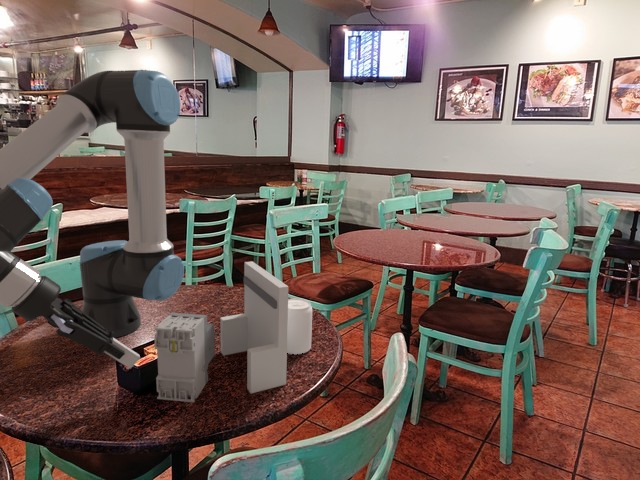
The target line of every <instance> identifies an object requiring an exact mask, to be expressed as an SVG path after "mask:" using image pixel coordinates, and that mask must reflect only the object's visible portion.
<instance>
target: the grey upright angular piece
mask: <svg viewBox="0 0 640 480" xmlns="http://www.w3.org/2000/svg"><path fill="white" fill-rule="evenodd" d="M243 266H244V271H243V273H244V276H243V284H244V290H243V291H244V292H243V293H244V298H243V299H244V302H243V303H244V308H243V309H244V311H243V312H244V313H240V314H233V315H227V316H222V317H220V318H219V319H220V322H219V323H220V325H219V326H220V354H222V356H229V355H235V354H238V353H243V352H247V355H246V359H247V360H246V361H247V362H246V363H247V364H246V365H247V366H246V368H247V370H246V371H247V375H246V376H247V379H246V383H247V384H246V386H247V388H246V389H247V391H248V392H249V393H250V394H255V393H258V392H263V391H266V390H270V389H274V388H277V387H282V386H285V385H287V371H288V370H287V367H288V366H287V365H288V364H287V362H288V361H287V360H288V354H287V328H288V299H289V286H288V285H287V284H285V283H284V282H283V281H281V280H280V279H279V278H277V277H276V276H274V275H273V274H271V273H270V272H268V271H267V270H266V269H264V268H263V267H261V266H260V265H258V264H257V263H256V262H254V261H252V260H251V261H244V265H243Z"/></svg>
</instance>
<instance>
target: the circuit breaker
mask: <svg viewBox="0 0 640 480" xmlns="http://www.w3.org/2000/svg"><path fill="white" fill-rule="evenodd" d="M154 331H156V333H155V335H154V350H157V351H156V353H157V356H156V358H157V373H158V374H157V376H156V377H155V380H156V381H155V382H156V393H158V396H157V397H156V399H157V400H165V401H175V402H176V401H177V402H185V403H195V401H196V399H197V398H198V397H199V395H201V392H202V391H203V389H204V388H205V386H206V384H207V383H208V382H209V372H208V371H207V370H209V364H210V362H211V361H212V360H213V358H214V357H215V356H216V355H215V354H216V353H215V350H216V349H215V335H216V333H215V324H214V323H210V322H208V315H205V314H195V313H183V312H181V313H180V312H170V314H168V315H167V316H166V317H165V318H164V319H163V320H162V321H160V322H159V323H158V324H157V325H156V327H154Z"/></svg>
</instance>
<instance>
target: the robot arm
mask: <svg viewBox="0 0 640 480" xmlns="http://www.w3.org/2000/svg"><path fill="white" fill-rule="evenodd" d="M180 100H181V99H180V95H179V92H178V90H177V88H176V86H175V84H173V82H172V80H171V79H170V78H169V77H168V76H167V75H165V74H164V73H162V72H160V71H158V70H149V69H148V70H147V69H135V70H134V69H133V70H103V71H100V72H96V73H94V74H92V75H89V76H88V77H86V78H84V79H83V80H80V81H79V82H77V83H76V84H74V85H73V86H72V87H70V88H69V89H67V90H66V91H65V92H64V93H62V94H60V96H58V97H57V99H56V101H55V102H56V105H55V106H54V107H52V108H51V109H49V111H47V112H46V113H45V114H43V115H42V116H40V118H39V119H38V118H37V119H36V120H35V122H33V123H32V124H30V125H29V126H28V127H27V128H25V129H24V130H23V131H21V132H20V133H19V134H18V135H16V136H14V138H12V139H11V140H10V141H9V142H7V143H6V144H5V145H4V146H3V147H1V148H0V305H2V306H3V307H4V308H11V311H12V313H14V314H16V315H17V316H19V317H20V318H22V319H23V320H25V321H27V322H33V321H35V320H36V319H38V318H39V317H43V318H44V319H45V320H46V321H47V324H48V325H50V326H51V327H54V328H55V329H56V328H57V329H56V331H55V332H56V334H57V335H58V336H61V337H64V338H67V339H69V340H71V341H73V342H75V343H77V344H79V345H81V346H83V347H85V348H87V349H88V350H91V351H93V352H95V353H97V355H98V356H101V355H102V354H103V353H105V354H106V355H107V356H109V357H111V358H112V359H114V360H116V361H117V362H118V363H120V364H121V365H123V366H124V367H126V368H128V369H130V370H131V369H132V368H133V367H134V366H135V364H137V362H138V361H139V360H140V359H141V356H140V354H139V353H138V352H136V351H134V350H133V349H131V348H129V346H127V345H125V344H124V343H122V341H119V340H117V338H119V337H123V336H127V335H129V334H131V333H133V332H135V331H136V330H138V329H139V328H140V327H141V325H142V322H141V321H142V319H141V318H142V317H141V314H140V311H139V308H138V307H137V304H136V303H135V299H134V298H139V299H143V300H146V301H148V302H149V301H150V302H151V301H154V302H155V301H156V302H164V301H166V300H169V299H170V298H172V297H173V296H174V295H175V294H176V292H177V291H178V290H179V288H180V287H181V285H182V282H183V280H184V275H185V264H184V261H183V260H182V258H181V257H180V256H178V255H177V254H175V253H174V249H175V248H174V244H173V243H172V241H170V240H169V239H168V235H167V233H168V232H167V230H168V229H167V208H166V205H167V203H166V177H165V176H166V173H165V172H166V171H165V148H164V145H165V142H164V141H165V139H166V138H167V137H168V136H169V135H170V134H171V125H173V124H174V123H176V122H177V120H178V119H179V118H178V117H179V116H180V113H181V101H180ZM111 123H112V124H113V123H114V124H115V125H116V128H115V129H116V132H117V133H118V134H119V135H120V136H121V137H122V138H123V139H124V141H123V142H124V156H125V157H124V158H125V159H124V161H125V179H126V180H125V181H126V198H127V199H126V201H127V216H128V238H129V240H128V241H127V240H125V239H123V240H122V239H119V240H118V239H117V240H116V239H115V240H108V241H102V242H96V243H95V242H94V243H91V244H89V245H85V246H83V247H82V248H81V250H80V251H79V252H80V253H79V258H80V259H79V267H80V268H79V269H80V277H81V278H80V279H81V287H82V297H83V304H82V308H79V307H78V306H76V305H75V304H74V302H72V301H71V300H70V299H69V298H65V299H63V300H62V299H61V298H59V295H60V293H61V291H62V287H61V285H60V284H58V283H57V282H55V281H54V280H53V279H51V278H49V277H47V276H46V275H41V272H40V270H39V269H37V268H35V267H34V266H32V265H31V264H29V263H28V262H26V261H24V260H23V259H22V258H20V257H19V256H18V255H15V254H14V253H13V252H12V251H13V250H14V248H16V247H17V246H18V244H19V243H20V242H21V241H22V240H23V239H25V237H27V235H28V234H29V233H30V232H31V231H32V230H33V229H34V228H35V227H36V226H37V225H38V224H39V223H40V222H41V221H43V219H44V217H45V216H46V215H47V213H49V211H50V210H51V209H52V207H53V203H54V202H53V198H52V196H51V194H50V193H49V192H48V190H47V189H46V188H44V186H42V185H41V184H39V183H38V182H36V181H35V180H33V178H34V177H35V176H36V175H37V174H38V173H40V172H41V171H42V170H43V169H44V168H45V167H46V166H47V165H49V163H51V162H52V161H53V160H54V159H56V158H57V157H58V156H59V155H60V154H61V153H63V152H65V150H66V149H67V148H68V147H69V146H71V145H72V144H73V143H74V142H75V141H77V139H79V138H80V137H81V136H82V135H83V134H85V133H87V134H89V133H93V132H94V131H95V130H96V129H98V128H99V127H101V126H103V125H106V124H111Z"/></svg>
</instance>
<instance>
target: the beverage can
mask: <svg viewBox="0 0 640 480" xmlns="http://www.w3.org/2000/svg"><path fill="white" fill-rule="evenodd" d="M312 324H313V307H312V304H311V302H310V301H309V300H307V299H304V298H297V297H296V298H288V328H287V353H288V354H287V355H292V354H294V355H293V356H295V355H297V354H298V355H303V354H306V353H307V352H309V351H310V350H311V348H312V333H313V332H312V331H313V325H312ZM302 353H303V354H302ZM298 355H297V356H298Z"/></svg>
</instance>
